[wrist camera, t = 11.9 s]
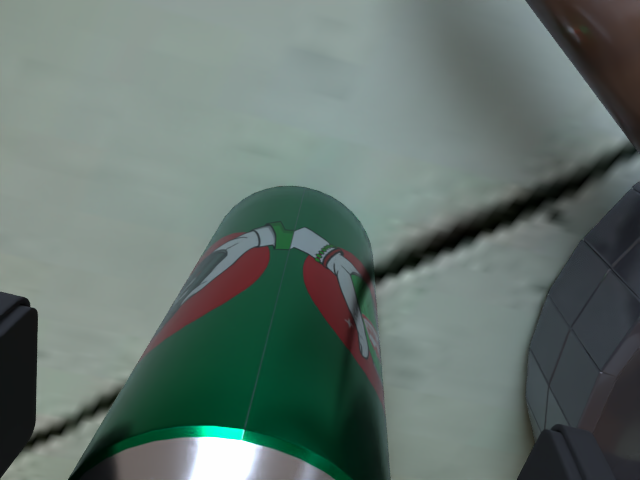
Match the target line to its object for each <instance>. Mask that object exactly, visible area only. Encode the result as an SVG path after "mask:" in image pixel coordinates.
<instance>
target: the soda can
mask: <svg viewBox="0 0 640 480" xmlns="http://www.w3.org/2000/svg"><path fill="white" fill-rule="evenodd" d="M68 480H391V477H390V465H389V452H388V440H387V427H386V415H385V403H384V390H383V378H382V365H381V353H380V340H379V328H378V315H377V303H376V291H375V278H374V266H373V254H372V249H371V244H370V241H369V239H368V236H367V233H366V231H365V230H364V228H363V226H362V225H361V223H360V221H359V220H358V219H357V218H356V216H355V215H354V214H353V213H352V212H351V211H350V210H349V209H348V208H347V207H346V206H344V205H343V204H342V203H341V202H339V201H337V200H336V199H334V198H333V197H331V196H329V195H327V194H324V193H322V192H320V191H317V190H313V189H310V188H306V187H297V186H279V187H274V188H269V189H265V190H262V191H259V192H256V193H254V194H252V195H250V196H248V197H247V198H245V199H243V200H242V201H241V202H239V203H238V204H237V205H236V206H234V207H233V208H232V209H231V210H230V212H229V213H228V214H227V215H226V216H225V218H224V219H223V221H222V222H221V224H220V226H219V227H218V229H217V231H216V232H215V234H214V236H213V237H212V239H211V241H210V242H209V244H208V246H207V247H206V249H205V251H204V252H203V254H202V256H201V257H200V259H199V261H198V263H197V264H196V266H195V268H194V269H193V271H192V273H191V274H190V276H189V278H188V279H187V281H186V283H185V284H184V286H183V288H182V289H181V291H180V293H179V294H178V296H177V298H176V299H175V301H174V303H173V304H172V306H171V308H170V309H169V311H168V313H167V314H166V316H165V318H164V319H163V321H162V323H161V324H160V326H159V328H158V329H157V331H156V333H155V335H154V336H153V338H152V340H151V341H150V343H149V345H148V346H147V348H146V350H145V351H144V353H143V355H142V356H141V358H140V360H139V361H138V363H137V365H136V366H135V368H134V370H133V371H132V373H131V375H130V376H129V378H128V380H127V381H126V383H125V385H124V386H123V388H122V390H121V391H120V393H119V395H118V396H117V398H116V400H115V401H114V403H113V405H112V407H111V408H110V410H109V412H108V413H107V415H106V417H105V418H104V420H103V422H102V423H101V425H100V427H99V428H98V430H97V432H96V433H95V435H94V437H93V438H92V440H91V442H90V443H89V445H88V447H87V448H86V450H85V452H84V453H83V455H82V457H81V458H80V460H79V462H78V463H77V465H76V467H75V468H74V470H73V472H72V473H71V475H70V477H69V479H68Z"/></svg>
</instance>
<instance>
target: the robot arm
mask: <svg viewBox="0 0 640 480" xmlns="http://www.w3.org/2000/svg"><path fill="white" fill-rule="evenodd" d="M37 332H38V313H37V310H36V309H35V308H31V307H30V303H29V300H28V299H27V298H25V297H21V296H16V295H12V294H8V293H4V292H0V478H1V477H2V476H3V474H4V473H5V472H6V470H7V469H8V468H9V466H10V465H11V464H12V462H13V461H14V460H15V458H16V457H17V456H18V454H19V453H20V452H21V451H22V449H23V448H24V447H25V445H26V444H27V442H28V441H29V439H30V437H31V435H32V433H33V430H34V427H35V421H36V379H37ZM517 480H616V478H615V476H614V474H613V472H612V470H611V468H610V466H609V465H608V463H607V461H606V459H605V457H604V455H603V453H602V451H601V449H600V447H599V445H598V443H597V441H596V439H595V437H594V436H593V434H592V433H591V432H589V431H587V430H583V429H579V428H575V427H570V426H566V425H562V424H555V425H554V426H553V427H552V428H551V429H550V430H548V429H545V430H543V431H542V432H541V434H540V435H539V437H538V439H537V441H536V443H535V445H534V447H533V449H532V451H531V453H530V455H529V457H528V459H527V461H526V463H525V465H524V466H523V468H522V470H521V472H520V474H519V476H518V478H517Z"/></svg>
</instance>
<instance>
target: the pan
mask: <svg viewBox="0 0 640 480" xmlns="http://www.w3.org/2000/svg"><path fill="white" fill-rule="evenodd" d="M548 294H549V295H547V298H546V301H545V304H544V306H543V309H542V312H541V315H540V318H539V321H538V324H537V327H536V329H535V332H534V335H533V338H532V341H531V344H530V348H529V356H528V369H527V382H526V402H527V407H528V412H529V416H530V421H531V426H532V431H533V435H534V440H535V442H536V441H537V439H538V437H539V435H540V434H541V432H542V431H543V430H545V429H548V430H550V429H551V428H552V427H553V426H554V425H555V424H562V425H566V426H570V427H575V428H579V429H583V430H587V431H589V432H591V433H592V434H593V436H594V437H595V439H596V441H597V443H598V445H599V447H600V449H601V451H602V453H603V455H604V457H605V459H606V461H607V463H608V465H609V466H610V468H611V470H612V472H613V474H614V476H615V478H616V480H640V181H639V182H638V183H637V184H635V185H634V186H633V189H631V190H629V191H628V192H627V193H626V194H625V195H624V197H623V198H622V199H621V200H620V201H619V202H618V203H617V204H616V205H615V206H614V207H613V208H612V209H611V210H610V211H609V212H608V213H607V214H606V215H605V216H604V217H603V218H602V219H601V220H600V222H599V223H598V224H597V225H596V226H595V227H594V228H593V229H592V230H591V231H590V232H589V233H588V234H587V235H586V236H585V237H584V240H581V241H580V243H579V244H578V246H577V247H576V249H575V251H574V252H573V254H572V255H571V257H570V259H569V260H568V262H567V263H566V265H565V267H564V268H563V270H562V271H561V273H560V274H559V276H558V278H557V279H556V281H555V282H554V284H553V286H552V287H551V289H550V290H549V292H548Z"/></svg>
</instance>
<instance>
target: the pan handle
mask: <svg viewBox="0 0 640 480" xmlns="http://www.w3.org/2000/svg"><path fill="white" fill-rule="evenodd" d="M525 1H526V2H527V3H528V5H529V6H530V7H531V9H532V10H533V11H534V13H535V14H536V15H537V17H538V18H539V19H540V21H541V22H542V23H543V25H544V26H545V27H546V29H547V30H548V31H549V33H550V34H551V35H552V37H553V38H554V40H555V41H556V42H557V44H558V45H559V46H560V48H561V49H562V50H563V52H564V53H565V54H566V56H567V57H568V58H569V60H570V61H571V62H572V64H573V65H574V66H575V68H576V69H577V70H578V72H579V73H580V74H581V76H582V77H583V78H584V80H585V81H586V82H587V84H588V85H589V87H590V88H591V89H592V91H593V92H594V93H595V95H596V96H597V97H598V99H599V100H600V101H601V103H602V104H603V105H604V107H605V108H606V109H607V111H608V112H609V113H610V115H611V116H612V117H613V119H614V120H615V121H616V123H617V124H618V125H619V127H620V128H621V129H622V131H623V132H624V134H625V135H626V136H627V138H628V139H629V140H630V142H631V143H632V144H633V146H634V147H635V148H636V150H637V151H638V152H639V154H640V0H525Z"/></svg>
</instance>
